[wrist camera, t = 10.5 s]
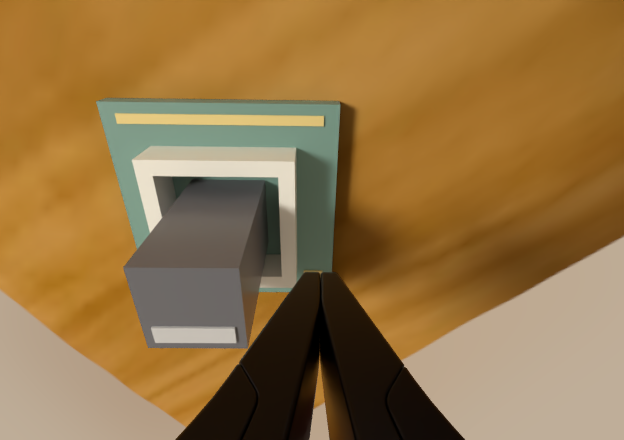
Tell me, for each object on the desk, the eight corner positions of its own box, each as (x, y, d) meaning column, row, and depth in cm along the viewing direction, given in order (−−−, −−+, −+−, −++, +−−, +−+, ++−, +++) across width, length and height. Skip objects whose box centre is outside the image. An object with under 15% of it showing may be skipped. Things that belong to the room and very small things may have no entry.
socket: (296, 147, 18) (294, 161, 16) (297, 265, 22) (296, 288, 20) (150, 145, 18) (131, 159, 16) (176, 264, 22) (163, 287, 20)
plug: (265, 180, 19) (238, 270, 12) (268, 248, 21) (248, 358, 14) (191, 179, 19) (121, 269, 12) (203, 247, 21) (149, 358, 14)
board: (338, 100, 18) (340, 105, 17) (329, 282, 24) (330, 293, 23) (106, 97, 18) (95, 101, 17) (154, 281, 24) (148, 292, 23)
